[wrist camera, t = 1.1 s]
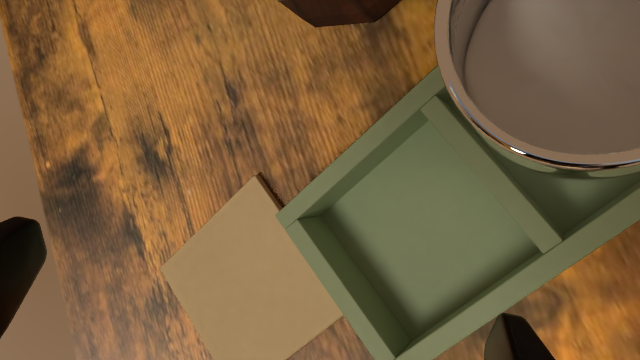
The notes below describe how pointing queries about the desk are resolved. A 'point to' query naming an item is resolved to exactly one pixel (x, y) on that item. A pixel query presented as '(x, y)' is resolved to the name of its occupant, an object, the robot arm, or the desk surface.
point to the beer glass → (547, 81)
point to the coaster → (249, 282)
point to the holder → (442, 227)
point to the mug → (339, 10)
